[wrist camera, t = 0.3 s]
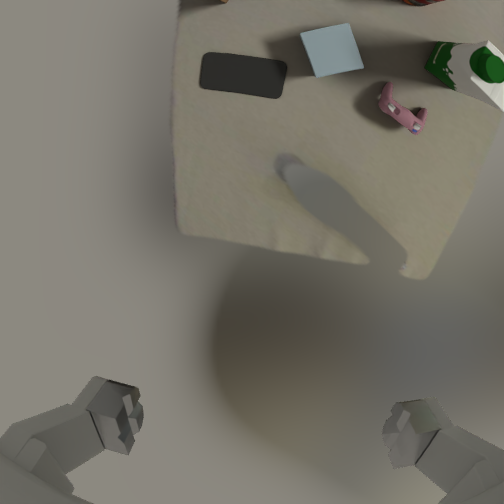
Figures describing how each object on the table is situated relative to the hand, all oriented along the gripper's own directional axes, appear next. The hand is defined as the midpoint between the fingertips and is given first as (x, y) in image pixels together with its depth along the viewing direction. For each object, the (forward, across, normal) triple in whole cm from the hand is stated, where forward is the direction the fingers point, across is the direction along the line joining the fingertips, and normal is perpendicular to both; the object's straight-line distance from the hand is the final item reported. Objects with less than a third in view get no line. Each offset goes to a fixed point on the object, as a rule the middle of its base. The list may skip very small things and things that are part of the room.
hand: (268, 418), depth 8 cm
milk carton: (+40, -31, -33) cm, 60 cm away
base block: (+42, -9, -31) cm, 53 cm away
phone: (+46, +6, -26) cm, 53 cm away
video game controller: (+45, -23, -23) cm, 55 cm away
